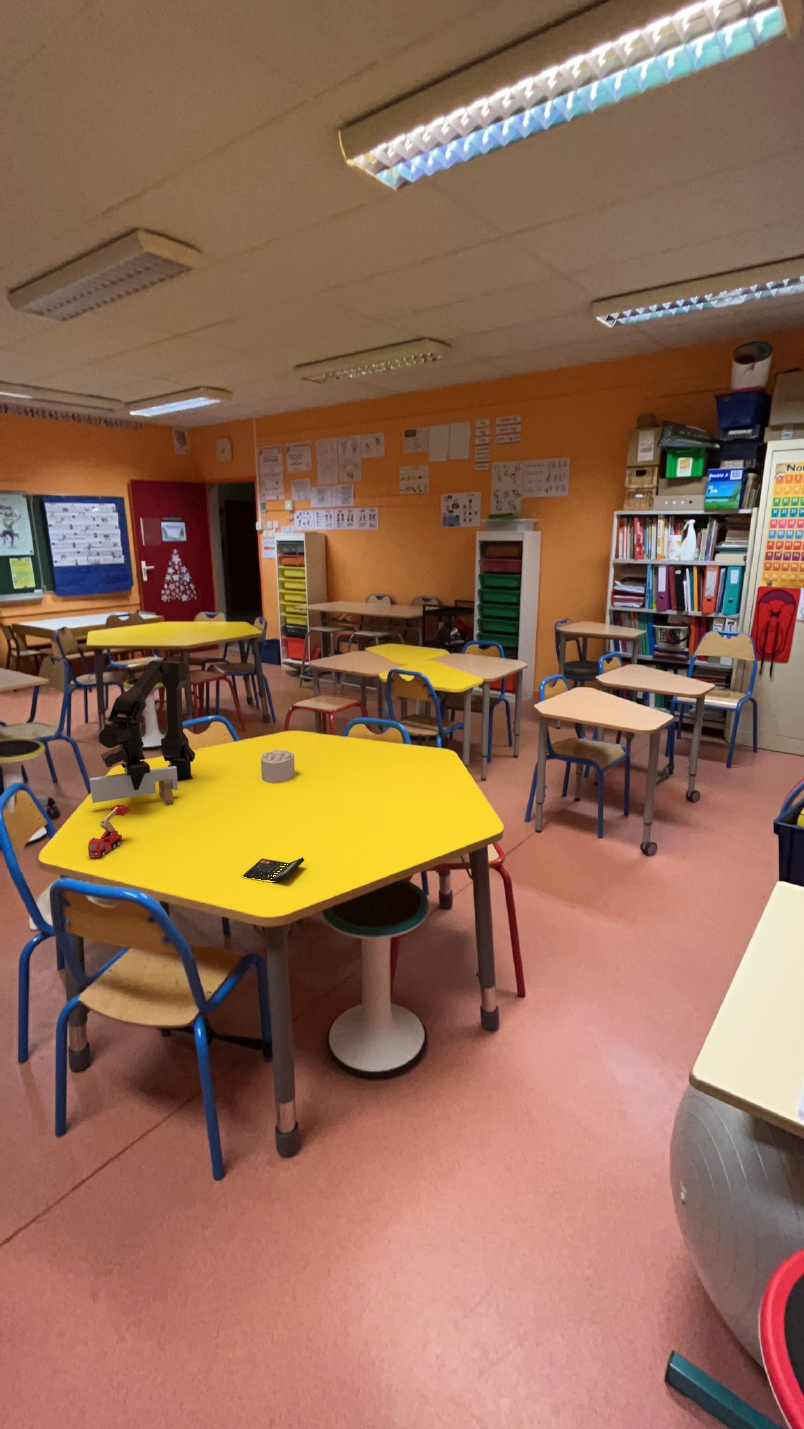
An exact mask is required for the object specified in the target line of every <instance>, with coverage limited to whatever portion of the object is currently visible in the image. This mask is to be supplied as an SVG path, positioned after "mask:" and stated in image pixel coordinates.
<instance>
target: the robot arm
mask: <svg viewBox="0 0 804 1429" xmlns="http://www.w3.org/2000/svg"><path fill="white" fill-rule="evenodd" d="M188 672H189V668H188V666H187V665H186V663H185V662H183V661H172V660H152V661H149V662H148V666H147V667H146V669H144V671H143V673H142V674H141V675H140V677H139V678H138V679H137V681H136V682H135V683H134V684H133V686H132V687H131V688H130V689H128V690H125V691H124V692H122V693H120V695H118V696H117V697H116V699H115V700H114V702H113V705H112V708H111V711H110V714H109V717H108V720H107V723H105V724H104V728H103V729H102V730H101V731H100V733H99V736H98V737H99V742H100V743H101V744H102V746H103V747H105V748H107V749H110V750H108V751H105V752H103V753H101V754H100V758H101V759H102V761H103V763H104V765H105V767H106V768H108V769H109V768H111V767H112V766H114V765H116V764H118V763H120V762H121V761H122V763H121V764H120V765H121V767H122V768H123V771H124V773H126V774H127V776H130V777H131V780H132V783H133V787H134V790H138V789H139V787H140V784H141V782H142V779H143V777H144V775H145V774H146V773H150V770H151V766H150V764H149V763H148V762H147V761H145V755H144V749H143V748H144V745H145V744H144V741H143V734H142V722H143V721H145V717H143V716H142V714H143V713H144V710H145V708H146V706H147V701H146V700H147V699H148V698H147V697H148V696H149V695H150V694H151V692H152V691H153V689H154V688H155V687H156V685H157V684H158V682H159V681H160V683H161V684H162V686H163V687H164V689H165V699H166V700H165V702H166V703H165V705H166V706H165V707H166V734H165V735H164V737H161V740H160V746H161V747H160V748H161V749H160V751H161V754H162V757H163V760H164V761H165V762H169V764H168V765H167V767H171V766H176V768H177V781H178V782H179V781H186V780H192V779H193V778H194V777H193V776H192V767H191V766H192V765H191V763H193V762H194V760H195V758H196V752H195V751H194V750H193V749H192V748H191V747H190V742H189V738H188V737H187V735H186V734H185V732H184V723H183V722H184V721H183V720H184V718H183V715H184V714H183V687H184V686H185V684H186V682H187V679H188ZM112 748H113V749H112Z"/></svg>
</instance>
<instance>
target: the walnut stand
mask: <svg viewBox="0 0 804 1429" xmlns="http://www.w3.org/2000/svg"><path fill="white" fill-rule="evenodd" d="M157 782H158V792H159V793H158V794H159V796H160V798H161V800H162V799H163V800H162V801H163V803H164V804H165V806H170V804H171V805H173V804H174V798H173V789H172V782H171V779H168V780H163V781H157Z"/></svg>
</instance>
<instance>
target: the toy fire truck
mask: <svg viewBox="0 0 804 1429" xmlns="http://www.w3.org/2000/svg"><path fill="white" fill-rule="evenodd" d="M110 810H111V812H109V813H108V815H107V816H106V817H104V818H102V820H101V821H100V825H99V826H100V827H101V828H102V829H103V830H105V831H104V832H103V834H101V836H100V838H96V837H92V838H91V839H89V842H88V845H87V849H88V850H87V852H88V854H87V855H88V857H90V858H94V859H97V858H98V859H99V858H104V857H105V855H106V854H107V853H109V851H111V850H115V849H116V847H120V845H121V844H122V843H123V835H122V834H119V831H118V830H117V829H116V828H115V827H114V826H113V824H112V822H110V820H112V818H113V817H114V816H122V817H124V816H125V815H127V814H128V813H130V806H129V805H125V804H115V805H111V807H110Z"/></svg>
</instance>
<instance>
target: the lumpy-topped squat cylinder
mask: <svg viewBox="0 0 804 1429" xmlns="http://www.w3.org/2000/svg"><path fill="white" fill-rule="evenodd" d="M260 766H261V767H260V768H261V769H260V770H261V772H260V773H261V780H262V781H263V782H265V783H267V784H281V783H285V782H288V781H290V780H292V778H294V776H295V773H296V772H295V753H294V752H291V751H288V750H287V749H273V750H271V751H264V752H263V753H262V756H261V758H260Z"/></svg>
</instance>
